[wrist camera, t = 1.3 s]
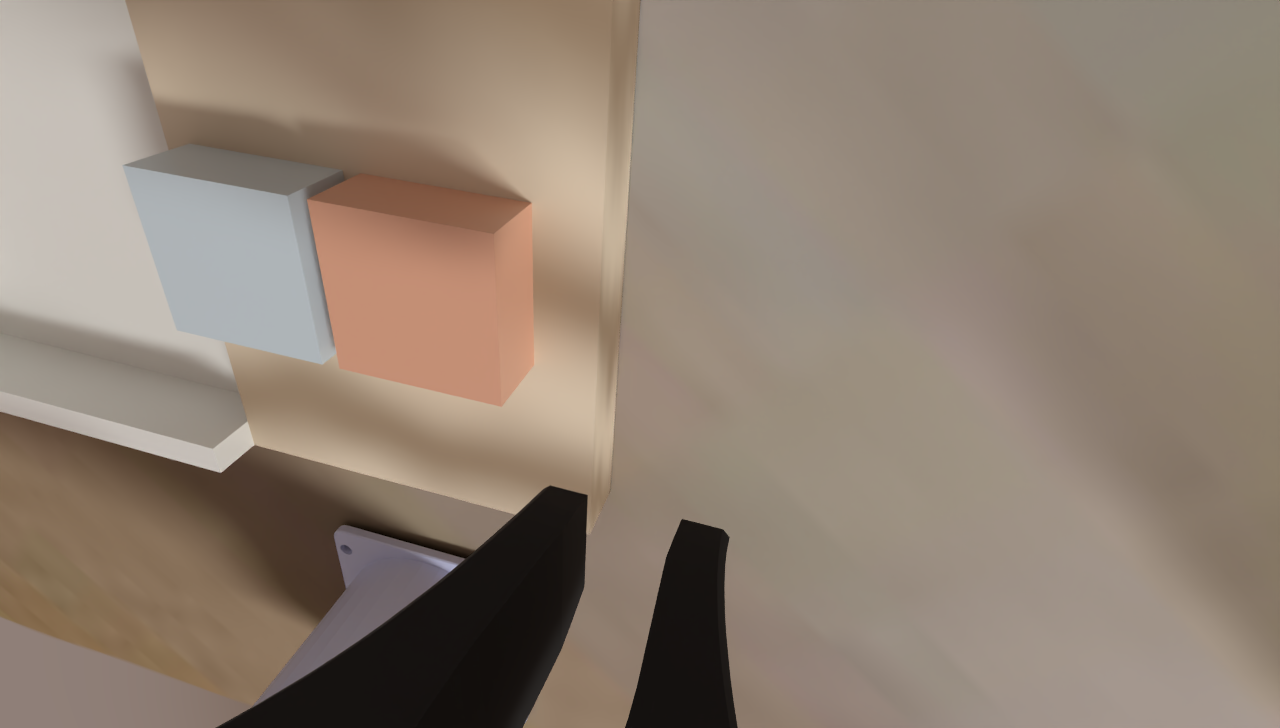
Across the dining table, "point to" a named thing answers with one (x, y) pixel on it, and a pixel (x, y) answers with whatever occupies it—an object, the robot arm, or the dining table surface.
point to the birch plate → (444, 157)
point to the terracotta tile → (428, 284)
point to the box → (94, 248)
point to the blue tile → (237, 246)
